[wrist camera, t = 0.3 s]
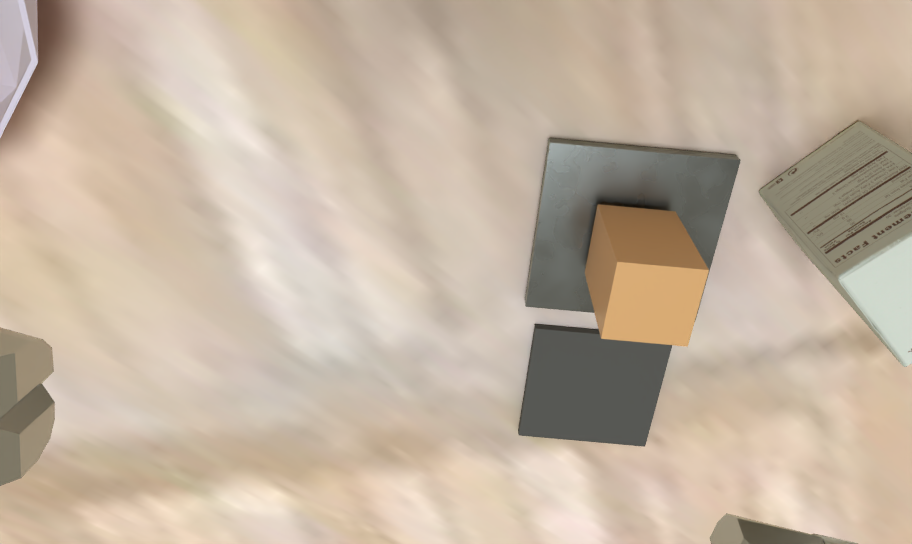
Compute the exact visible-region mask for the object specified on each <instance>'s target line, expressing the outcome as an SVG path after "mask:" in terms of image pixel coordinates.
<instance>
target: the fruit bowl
mask: <svg viewBox="0 0 912 544" xmlns="http://www.w3.org/2000/svg"><path fill="white" fill-rule="evenodd" d="M37 64H38V16H37V0H0V138H1V136H2V134H3V132H4V130H5V128H6V126H7V124H8V122H9V120H10V118H11V116H12V114H13V112H14V110H15V108H16V106H17V104H18V102H19V100H20V98H21V96H22V94H23V92H24V90H25V88H26V86H27V84H28V82H29V80H30V78H31V76H32V74H33V72H34V70H35V68H36V66H37Z"/></svg>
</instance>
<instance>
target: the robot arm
mask: <svg viewBox="0 0 912 544" xmlns="http://www.w3.org/2000/svg"><path fill="white" fill-rule="evenodd" d="M53 372H54V368H53V354H52V347H51V346H50V345H49V344H47V343H46V342H45V341H44V340H43V339H40V338H36V337H33V336H29V335H25V334H22V333H18V332H15V331H11V330H7V329H4V328H0V486H1V485H4V484H6V483H9V482H12V481H14V480H17V479H20V478H22V477H23V476H24V475H25V474H26V472H27V471H28V470H29V469H30V468H31V467H32V466H33V465H34V464H35V463H36V462H37V461H38V459H39V458H40V456H41V454H42V452H43V450H44V449H45V447H46V445H47V443H48V441H49V439H50V437H51V433H52V428H53V424H54V420H55V402H54V401H53V399H52V398H51V396H50V395H49V393H48V392H47V390H46V389H45V387H44V386H43V385H42V383H43V382H44V381H45V380H46V379H47V378H48V377H49V376H50V375H51V374H52V373H53ZM710 541H711V544H858V543H854V542H849V541H845V540H841V539H836V538H832V537H827V536H823V535H818V534H808V533H804V532H800V531H796V530H792V529H788V528H784V527H780V526H776V525H772V524H768V523H763V522H759V521H755V520H751V519H747V518H743V517H739V516H735V515H731V514H725V515H724V516H723V517H722V518H721V519H720V520H719V521H718V523H717V525H716V527H715V529H714V531H713V533H712V535H711V537H710Z"/></svg>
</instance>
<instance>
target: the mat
mask: <svg viewBox="0 0 912 544" xmlns="http://www.w3.org/2000/svg"><path fill="white" fill-rule="evenodd" d="M671 348H672V345H666V344H655V343H643V342H632V341H621V340H610V339H601V336H600V332H599V330H595V329H584V328H573V327H562V326H551V325H539V324H535V328H534V334H533V341H532V347H531V353H530V360H529V366H528V372H527V379H526V385H525V391H524V398H523V404H522V410H521V417H520V423H519V429H518V433H519V435H522V436H533V437H544V438H555V439H567V440H578V441H589V442H600V443H612V444H623V445H634V446H645V444H646V441H647V437H648V433H649V430H650V426H651V422H652V418H653V415H654V411H655V407H656V403H657V400H658V396H659V392H660V389H661V385H662V381H663V377H664V374H665V370H666V366H667V363H668V359H669V355H670V351H671Z"/></svg>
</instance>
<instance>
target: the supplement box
mask: <svg viewBox="0 0 912 544" xmlns="http://www.w3.org/2000/svg"><path fill="white" fill-rule="evenodd" d="M759 193H760V195H761V197H762V198H763V199H764V201H765V202H766V204H767V205H768V206H769V208H770V209H771V210H772V212H773V213H774V215H775V216H776V217H777V219H778V220H779V221H780V223H781V224H782V226H783V227H784V228H785V230H786V231H787V232H788V234H789V235H790V236H791V237H792V239H793V240H794V241H795V242H796V244H797V245H798V246H799V247H800V248H801V250H802V251H803V252H804V253H805V254H806V256H807V257H808V258H809V259H810V260H811V261H812V263H813V264H814V265H815V266H816V267H817V268H818V269H819V270H820V272H821V273H822V274H823V275H824V276H825V277H826V278H827V279H828V281H829V282H830V283H831V284H832V285H833V286H834V287H835V289H836V290H837V291H838V292H839V293H840V294H841V296H842V297H843V298H844V299H845V300H846V301H847V302H848V303H849V305H850V306H851V307H852V308H853V309H854V310H855V312H856V313H857V314H858V315H859V316H860V317H861V318H862V320H863V321H864V322H865V323H866V324H867V325H868V327H869V328H870V329H871V330H872V331H873V332H874V334H875V335H876V336H877V337H878V338H879V339H880V340H881V342H882V343H883V344H884V345H885V346H886V347H887V348H888V350H889V351H890V352H891V353H892V354H893V355H894V356H895V358H896V359H897V360H898V361H899V362H900V363H901V364H902V366H904V367H907V366H908V365H910V364H912V153H910V152H909V151H907V150H906V149H904V148H902V147H901V146H899V145H898V144H896V143H894V142H893V141H891V140H890V139H888V138H887V137H885V136H883V135H882V134H880V133H878V132H877V131H875V130H873V129H872V128H870V127H868V126H867V125H865V124H864V123H862V122H860V121H858V122H856V123H855V124H853V125H852V126H850V127H849V128H847V129H846V130H844V131H843V132H841V133H840V134H838V135H837V136H836V137H834V138H833V139H831V140H830V141H828V142H827V143H825V144H824V145H823V146H821V147H820V148H818V149H817V150H816V151H814V152H813V153H811V154H810V155H808V156H807V157H806V158H804V159H803V160H801V161H800V162H798V163H797V164H796V165H794V166H793V167H791V168H790V169H788V170H787V171H785V172H784V173H783V174H781V175H780V176H778V177H777V178H776V179H774V180H773V181H772V182H770V183H769V184H767V185H766V186H765V187H763V188H762V189H761V190H760V191H759Z"/></svg>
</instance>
